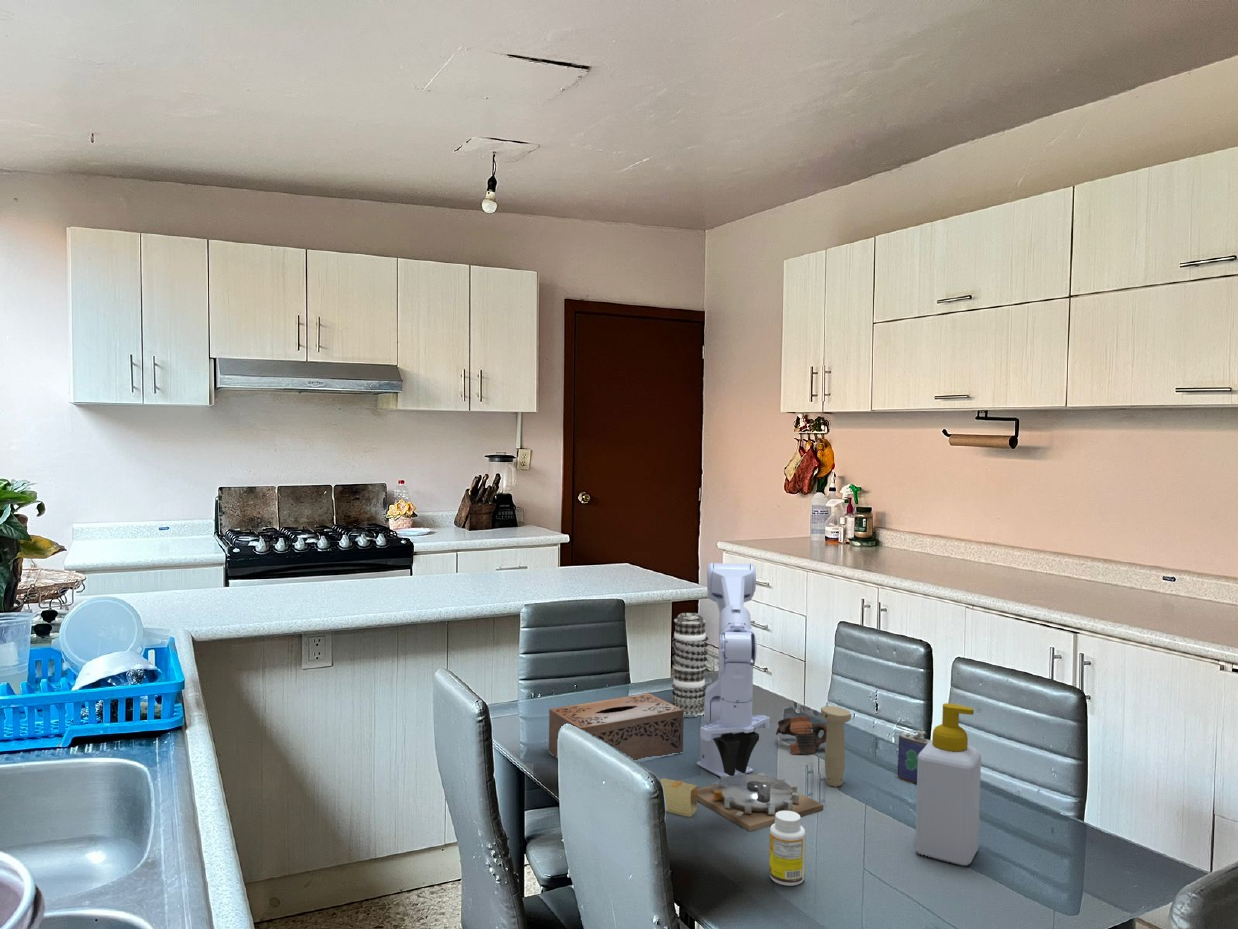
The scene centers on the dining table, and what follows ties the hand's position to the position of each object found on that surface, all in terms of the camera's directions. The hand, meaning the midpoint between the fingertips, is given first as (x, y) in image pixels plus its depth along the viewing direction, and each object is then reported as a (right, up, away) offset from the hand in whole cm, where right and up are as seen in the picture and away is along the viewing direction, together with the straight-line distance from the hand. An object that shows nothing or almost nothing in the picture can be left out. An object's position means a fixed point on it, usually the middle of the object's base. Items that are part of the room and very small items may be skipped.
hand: (734, 772), depth 162 cm
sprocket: (+5, -8, +10) cm, 14 cm away
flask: (+40, -10, +21) cm, 47 cm away
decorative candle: (-3, -7, +65) cm, 65 cm away
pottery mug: (+21, -9, +40) cm, 46 cm away
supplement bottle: (+6, -10, -19) cm, 23 cm away
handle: (+23, -9, +20) cm, 31 cm away
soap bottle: (+35, -11, -9) cm, 38 cm away
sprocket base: (+5, -9, +10) cm, 14 cm away
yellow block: (-10, -9, +6) cm, 15 cm away
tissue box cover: (-22, -8, +35) cm, 42 cm away
